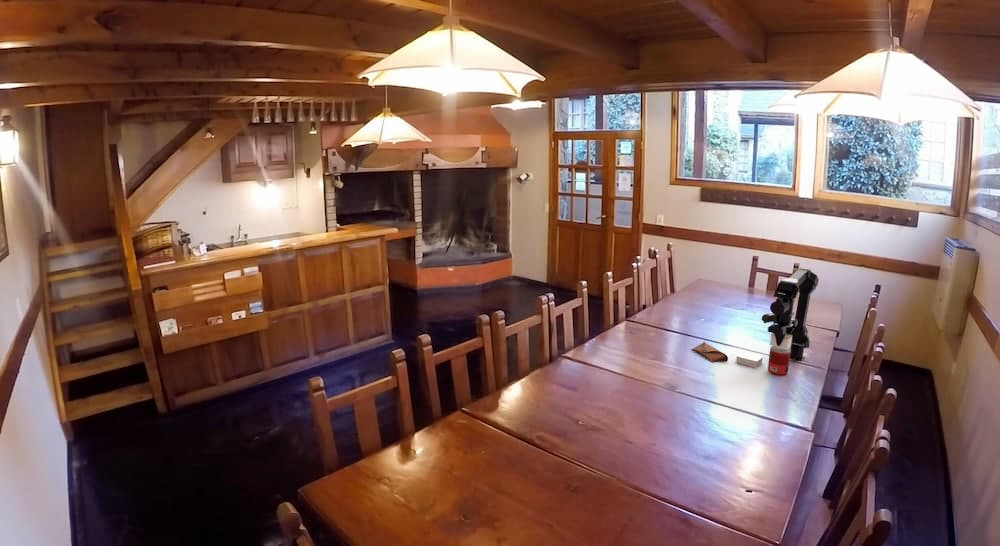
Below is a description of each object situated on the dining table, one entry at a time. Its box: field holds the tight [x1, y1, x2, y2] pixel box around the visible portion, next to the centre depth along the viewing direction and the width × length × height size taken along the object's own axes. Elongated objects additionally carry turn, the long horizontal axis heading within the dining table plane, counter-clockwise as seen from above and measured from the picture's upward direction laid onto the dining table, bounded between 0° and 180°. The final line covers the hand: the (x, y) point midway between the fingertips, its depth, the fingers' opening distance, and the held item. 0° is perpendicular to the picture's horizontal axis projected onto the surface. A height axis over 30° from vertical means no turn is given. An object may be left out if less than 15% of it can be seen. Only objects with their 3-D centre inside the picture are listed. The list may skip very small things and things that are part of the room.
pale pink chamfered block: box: [735, 351, 764, 369], centre depth 267 cm, size 7×9×3 cm
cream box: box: [769, 333, 793, 349], centre depth 254 cm, size 5×7×5 cm
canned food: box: [767, 345, 791, 377], centre depth 256 cm, size 8×8×11 cm
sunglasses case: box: [690, 341, 729, 364], centre depth 276 cm, size 18×7×7 cm
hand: (780, 344), depth 255 cm, fingers closed on cream box, 5 cm apart
